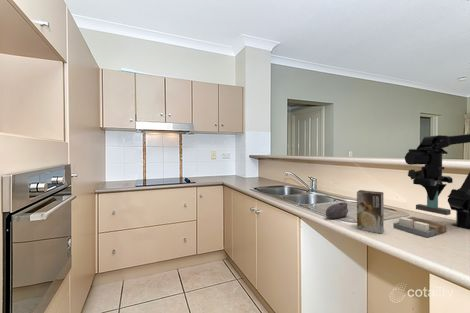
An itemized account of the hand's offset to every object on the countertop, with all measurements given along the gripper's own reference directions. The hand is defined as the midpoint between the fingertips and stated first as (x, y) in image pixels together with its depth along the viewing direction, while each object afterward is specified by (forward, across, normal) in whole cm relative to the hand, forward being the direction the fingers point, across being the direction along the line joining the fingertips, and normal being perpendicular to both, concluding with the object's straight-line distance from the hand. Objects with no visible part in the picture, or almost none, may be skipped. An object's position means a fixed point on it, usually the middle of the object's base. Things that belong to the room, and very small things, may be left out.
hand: (432, 200), depth 95 cm
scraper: (+5, 0, 0) cm, 5 cm away
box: (+12, +14, 0) cm, 18 cm away
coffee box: (+12, +28, -9) cm, 32 cm away
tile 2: (+9, +14, +3) cm, 17 cm away
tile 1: (+9, +13, -3) cm, 16 cm away
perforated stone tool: (+12, +27, -27) cm, 40 cm away
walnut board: (+12, +7, 0) cm, 14 cm away
